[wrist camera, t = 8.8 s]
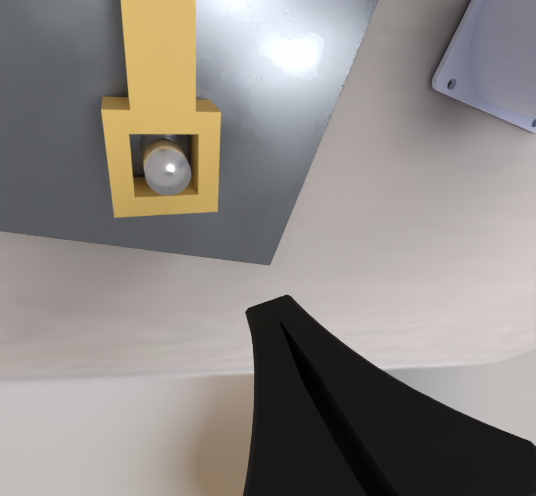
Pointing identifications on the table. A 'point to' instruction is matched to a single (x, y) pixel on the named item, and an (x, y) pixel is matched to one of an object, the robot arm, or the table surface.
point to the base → (230, 71)
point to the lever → (161, 109)
